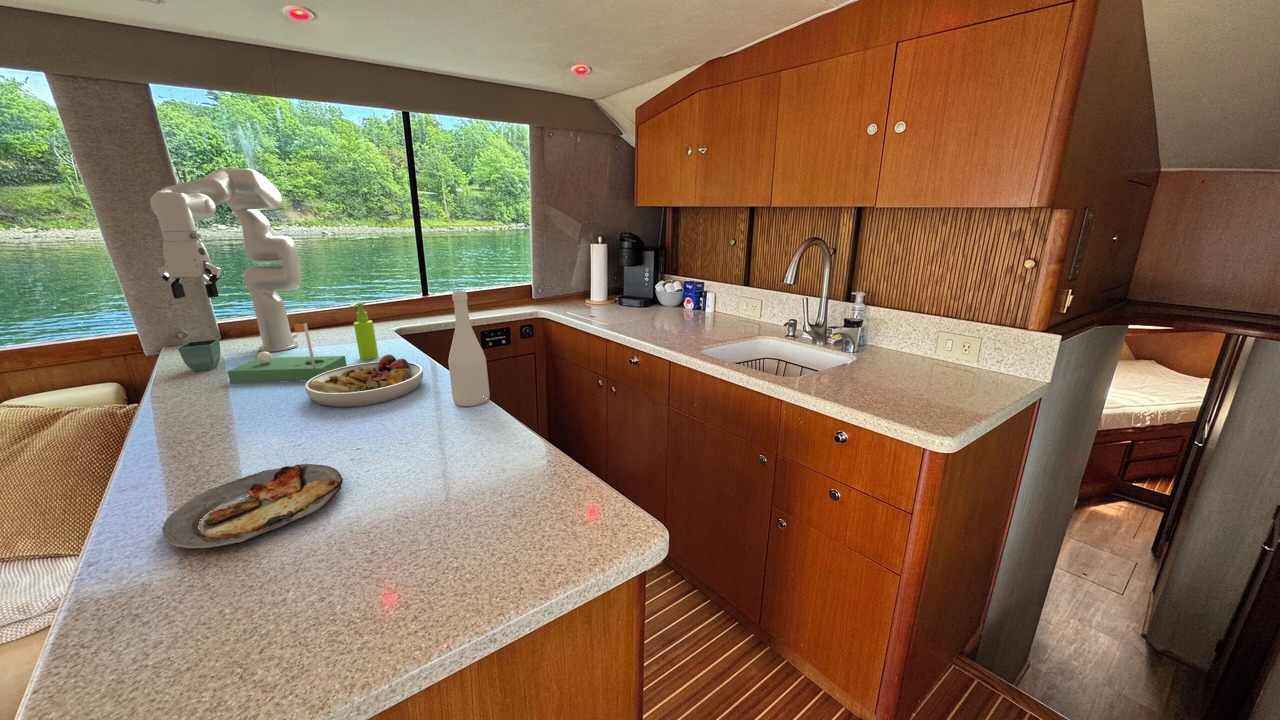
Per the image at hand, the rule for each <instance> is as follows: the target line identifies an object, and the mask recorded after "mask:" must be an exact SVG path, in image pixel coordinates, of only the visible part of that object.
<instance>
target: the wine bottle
mask: <svg viewBox="0 0 1280 720" xmlns="http://www.w3.org/2000/svg"><path fill="white" fill-rule="evenodd" d="M451 298H452V302H453V305H454V306H453V307H454V318H455V329H454V333H453V337H452V342H451V346H450V350H449V354H448V355H449V356H448V362H447V363H448V371H449V378H450V379H449V380H450V387H451V394H452V400H453V403H454V405H457V406H458V407H470V408H471V407H476V406H479V405H483V404H485V403H487V402H488V401H489V400H490V396H491V395H490V384H489V376H488V365H487V358H486V356H485V352H484V350H483V348H482V346H481V345H480V342H479V340H478V337H477V336H476V334H475V331H474V329H473V327H472V324H471V321H470V315H469V308H468V300H469V299H468V293H467V292H466V290H465V291H464V290H456V291H453V292H452V294H451ZM483 396H484V397H483ZM486 398H487V399H488V400H487V399H486Z"/></svg>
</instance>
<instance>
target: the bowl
mask: <svg viewBox="0 0 1280 720" xmlns="http://www.w3.org/2000/svg"><path fill="white" fill-rule="evenodd" d="M423 378H424V368H423V367H422V365H420V364H418V363H415V362H411V361H407V360H406V359H405V358H399V359H397V358H396V357H395V356H393V355H392V354H386V355H384V356H382V357H381V358H380V359H379V361H370V362H364V363H356V364H352V365H347V366H346V367H341V368H337V369H334V370H330V371H327V372H324V373H322V374H319V375H317V376H315V377H313V378H311V379H310V380H309V381H306V382H305V384H304V388H305V392H306V394H307V396H308V397H309V398H310V399H311V400H312V401H313V402H315V403H317V404H320V405H323V406H328V407H335V408H336V407H338V408H352V407H353V406H354V407H363V406H368V405H375V404H376V405H377V404H379V403H380V402H381V403H385V402H387V401H388V400H389V401H391V400H395V399H397V398H401V397H402V396H405V395H407V394H409V393H411V392H412V391H413V390H415V389H417V387H419V385H420V384H421V383H422V381H423ZM400 396H401V397H400ZM381 403H380V404H381Z"/></svg>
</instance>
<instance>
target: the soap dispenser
mask: <svg viewBox="0 0 1280 720" xmlns="http://www.w3.org/2000/svg"><path fill="white" fill-rule="evenodd" d="M364 305H366V302H362V301H360V302H355V303H351V304H349V305H348V307H350V308H355V307H357V310H358V311H357V312H355V316H356V320H357V321H354V322H353V327H354V332H355V338H356V343H357V348H358V353H359V354H358V355H359V359H360V360H362V361H363V360H364V361H366V360H375V359H377V358H379V352H378V345H377V338H376V334H375V328H374V323H373V321H374V320H369V317H368V316H369V315H368V311H366V310H365V309H364Z"/></svg>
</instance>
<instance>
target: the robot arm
mask: <svg viewBox="0 0 1280 720" xmlns="http://www.w3.org/2000/svg"><path fill="white" fill-rule="evenodd" d="M149 202H150V203H149V204H150V208H151V211H152V212H153V213H154V215H156V216H157V220H158V224H159V227H160V230H161V231H160V232H161V235H162V238H163V243H162V253H163V258H164V259H163V260H164V265H163V266H161V267H159V268H157V272H158V274H159V275H160V276H161V278H162V280H164V281H165V282H166V284H167V285H169V286H170V288H171V292H172V295H173V298H174V299H175V300H176V299H181V298H185V297H186V293H185V290H184V286H183V283H181V280H182V279H198V278H201V280H202V281H203V282H204V283H205V284H204V287H205V291H206V295H207V298H209V299H211V298H213V299H214V298H217V297H219V290H218V287H217V283H218V281H219V280H220V279H221V274H222V268H221V267H219V266H217V265H214V264H213V263H212V261H211V257H210V255H209V252H208V250H207V248H206V246H205V244H204V243H203V242H202V241H201V242H200V239H201V238H202V235H201V234H200V233H199V232H198V229H197V226H196V223H195V220H208V219H211V218H212V217H213V216H214V215H215V214H216V210H217V207H216V206H220V205H224V204H226V205H227V206H228V207H229V208H230V210H231V211H232V212H233V213H234V215H235V216H236V217H237V218H238V220H239V222H240V224H241V229H242V235H243V242H244V250H245V253H246V254H245V255H246V257H247V258H248V260H250V261H252V262H255V263H279V262H280V263H281V265H280V264H278V265H255V266H251V267H248V268H246V269H245V270H244V271H243V275H242V277H243V281H244V284H245V286H246V288H247V289H248V290H247V291H248V292H249V295H250V298H251V301H252V304H253V308H254V313H255V317H256V321H257V325H258V326H257V327H258V330H259V334H260V337H261V342H262V345H260V346H259V347H258V351H259V352H264V351H266V352H269V353H273V352H274V353H275V352H281V351H286V350H291V349H295V348H297V347H298V346H299V343H298V342H297V341H294V339H295V338H298V334H297V332H293V333H292V332H291V327H290V323H289V320H288V314H287V311H286V310H287V309H286V304H285V302H284V299H282V297H281V296H280V295H279V294H278V293H277V292H287V291H288V292H290V291H295V290H298V289H299V288H300V287H301V285H302V275H301V269H300V268H301V266H300V259H299V252H298V248H297V244H296V242H295V241H294V240H293V239H292V238H291V237H290V236H285V235H273V234H272V229H271V223H270V221H269V220H268V219H267V217H266V216H265V215H264V214H262V213H261V212H260V211H261V210H262V211H263V210H265V211H270V210H272V211H273V210H278V209H279V208H280V207H281V205H282V202H283V201H282V196H281V193H280V192H279V190H278V189H277V188H276V187H275V185H274V184H272V183H271V182H270V181H269V180H268V179H267V178H266V177H265V176H263V174H261V173H259V172H258V171H256V170H255V169H253V168H217V169H215V170H213V171H212V172H210V173H208V174H206V175H205V176H203V177H201V178H199V179H194V180H190V181H186V182H182V183H178V184H174V185H173V184H172V185H169V186H166V187H163V188H162V189H159V190H158V191H156V192H155V193H153V195H152V196H151V197H150V201H149Z"/></svg>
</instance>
